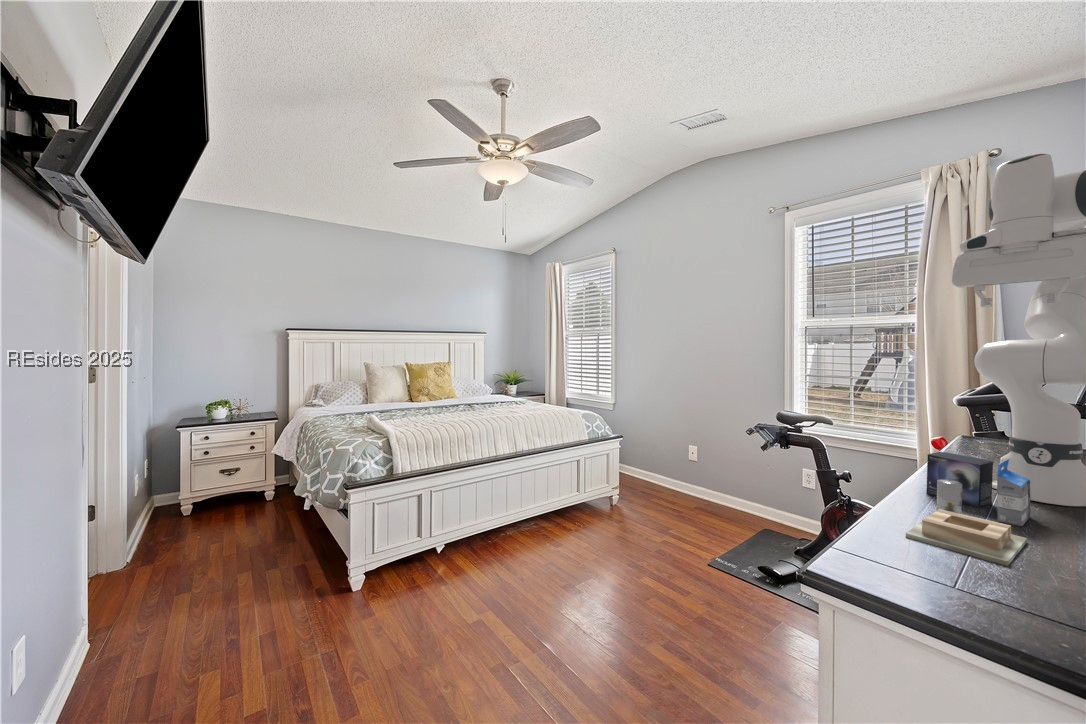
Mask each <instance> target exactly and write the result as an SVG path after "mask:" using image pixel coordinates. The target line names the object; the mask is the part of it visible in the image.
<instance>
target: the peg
mask: <svg viewBox="0 0 1086 724" xmlns="http://www.w3.org/2000/svg"><path fill="white" fill-rule="evenodd" d="M962 505H963V503H962V483H959V482H956V481H951V480H937V496H936V511H937V510H938V509H942V510H946V511H950V512H955V513H959V514H963V511H962V510H963V509H962Z"/></svg>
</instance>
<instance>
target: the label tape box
mask: <svg viewBox="0 0 1086 724" xmlns="http://www.w3.org/2000/svg"><path fill="white" fill-rule="evenodd" d="M1009 460H1010V459H1007V460H1005V461H1003V462H1002V463H1000V462H999V464H998V465H997V473H996V481H997V489H996V492H997V493H996V495H997V496H996V499H997V500H996V501H997V502H996V503H997V506H996V508H997V509H996V510H997V521H998V522H999V523H1003V524H1007V525H1014V526H1020V527H1023V526H1024V525H1025V523H1026V522H1028V520H1029V519H1030V518H1031V500H1030V480H1029V479H1027V478H1025V477H1022V476H1020V475H1018V474H1016V473H1014V472H1012V471H1010V470H1008V469H1007V467H1008V462H1009ZM1002 467H1004V468H1003V469H1002V470H1001V468H1002Z"/></svg>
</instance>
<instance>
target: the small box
mask: <svg viewBox="0 0 1086 724" xmlns="http://www.w3.org/2000/svg"><path fill="white" fill-rule="evenodd" d="M993 467H994V461H993V460H991V459H984V458H979V457H972V456H968V455H962V454H956V453H952V452H946V451H936V452H931V453H928V454H927V465H926V493H925V494H926V495H930V496H933V497H937V480H951V481H956V482H959V483H962V505H968V506H970V507H974V508H984V507H986V506H991V505H992V504H993V501H992V500H993V496H992V495H993V488H992V482H993Z"/></svg>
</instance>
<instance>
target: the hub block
mask: <svg viewBox="0 0 1086 724" xmlns="http://www.w3.org/2000/svg"><path fill="white" fill-rule="evenodd" d="M905 538H909V539H912V540H915V541H918V542H922V543H926V544H928V545H929V544H930V545H932V546H936V547H940V548H944V549H946V550H950V551H953V552H957V553H960V554H964V555H967V556H971V557H974V558H977V559H981V560H985V561H988V562H992V563H995V564H999V565H1003V566H1006V567H1009V565H1010V564H1011V563H1012V561H1013V560H1014V559H1015V558H1016V556H1017V555H1019V553H1020V551H1021V550H1022V549H1023V548H1024V546H1025V545H1026V544H1027V543H1028V538H1027V537H1025V536H1019V535H1016V534H1012V524H1007V523H1003V522H999V521H998V522H997V521H993V520H989V519H984V518H980V517H976V516H971V515H967V514H963V513H962V514H959V513H955V512H950V511H946V510H942V509H938V510H937V509H936V511H934V512H932V513H931V514H929V515H928V516H926V517H925V518H923V519H922V520H921V522H920V523H918V524H917V525H916V526H914V527H912V528H911V529H909V530H908V531H906V532H905Z"/></svg>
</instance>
